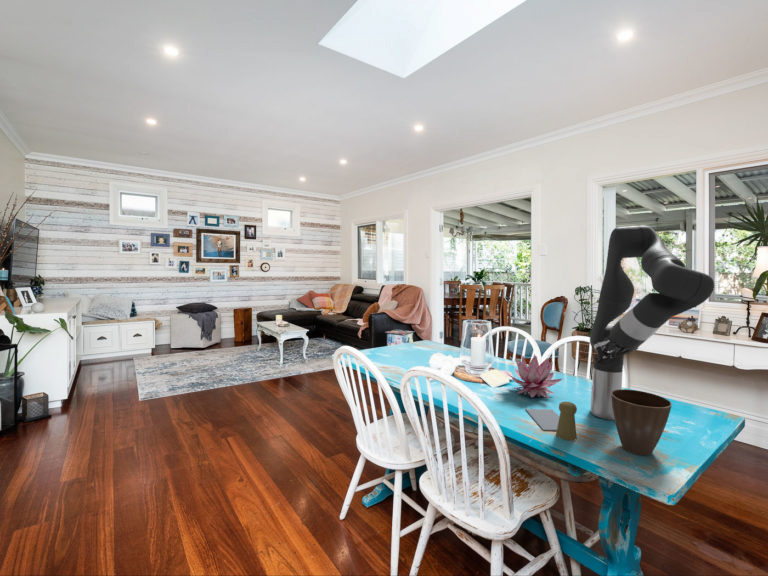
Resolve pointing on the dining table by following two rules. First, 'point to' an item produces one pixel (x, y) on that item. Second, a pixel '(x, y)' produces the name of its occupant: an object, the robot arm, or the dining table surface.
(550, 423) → the mat
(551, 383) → the decorative flower
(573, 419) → the cork
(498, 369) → the dining table surface
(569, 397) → the dining table surface
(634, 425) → the plant pot
